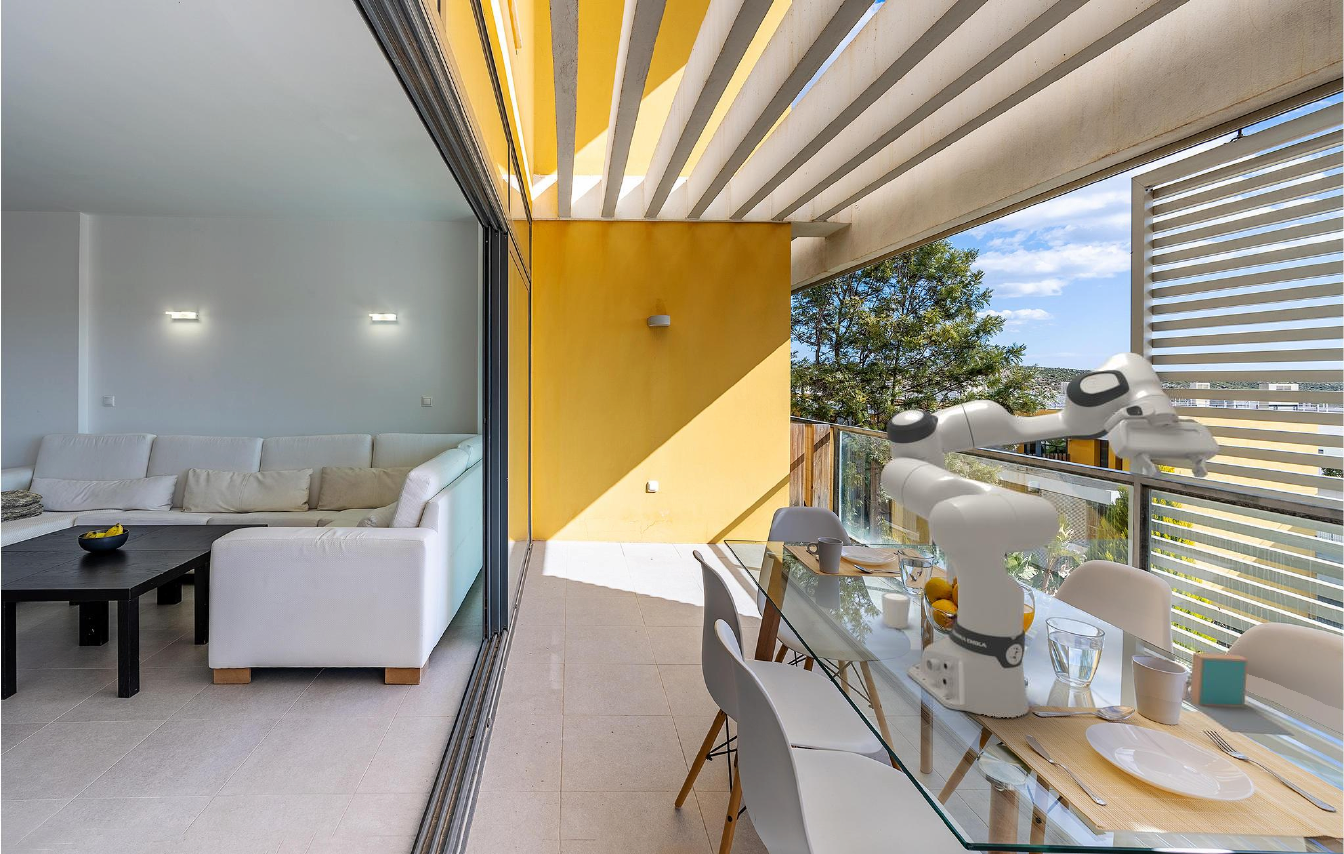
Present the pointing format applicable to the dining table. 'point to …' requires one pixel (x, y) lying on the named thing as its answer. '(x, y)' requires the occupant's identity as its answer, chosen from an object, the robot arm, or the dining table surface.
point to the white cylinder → (895, 609)
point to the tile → (1218, 680)
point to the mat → (1240, 719)
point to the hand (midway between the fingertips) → (1178, 475)
